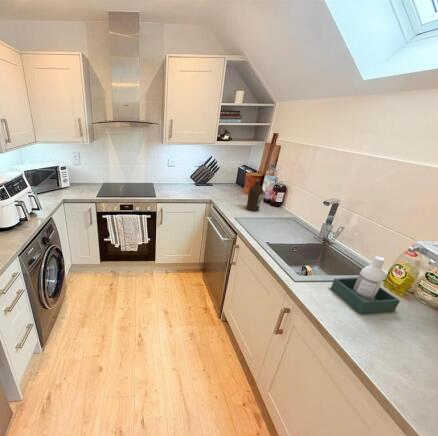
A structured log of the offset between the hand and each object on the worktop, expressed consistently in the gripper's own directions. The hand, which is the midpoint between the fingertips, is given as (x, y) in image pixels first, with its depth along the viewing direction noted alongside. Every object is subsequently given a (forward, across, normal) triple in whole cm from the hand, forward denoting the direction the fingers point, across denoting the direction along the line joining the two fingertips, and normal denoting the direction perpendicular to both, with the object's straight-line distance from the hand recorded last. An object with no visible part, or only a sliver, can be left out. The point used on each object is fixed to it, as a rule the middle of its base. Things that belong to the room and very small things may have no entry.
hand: (419, 256), depth 88 cm
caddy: (+12, 0, -23) cm, 26 cm away
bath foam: (+12, 0, -23) cm, 26 cm away
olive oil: (+34, +102, -23) cm, 110 cm away
